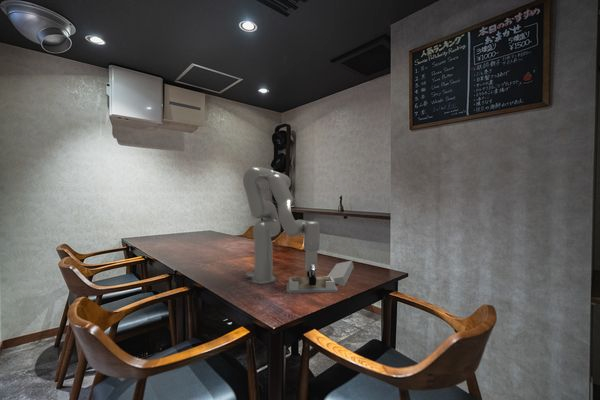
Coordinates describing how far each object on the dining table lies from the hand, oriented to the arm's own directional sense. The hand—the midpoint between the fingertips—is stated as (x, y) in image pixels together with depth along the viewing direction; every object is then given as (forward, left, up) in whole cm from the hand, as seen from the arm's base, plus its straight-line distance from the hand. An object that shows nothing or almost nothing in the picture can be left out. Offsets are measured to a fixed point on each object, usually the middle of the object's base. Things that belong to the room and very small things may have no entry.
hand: (311, 281), depth 127 cm
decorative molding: (+19, +20, -4) cm, 28 cm away
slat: (0, 0, -2) cm, 2 cm away
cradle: (0, 0, -3) cm, 3 cm away
